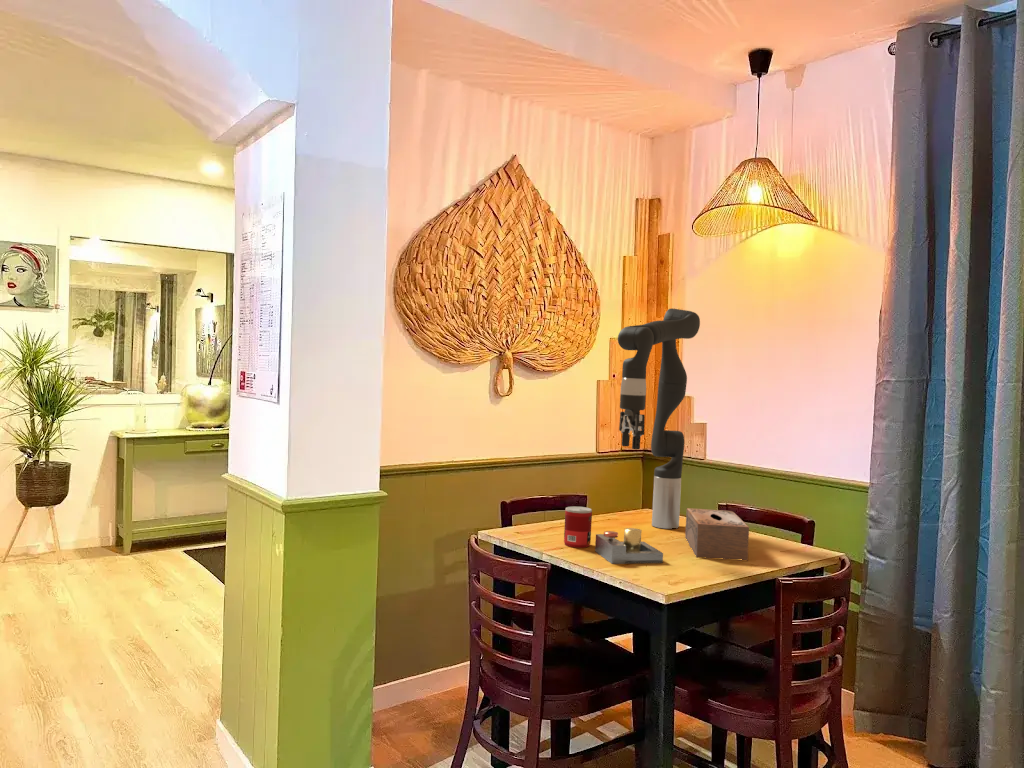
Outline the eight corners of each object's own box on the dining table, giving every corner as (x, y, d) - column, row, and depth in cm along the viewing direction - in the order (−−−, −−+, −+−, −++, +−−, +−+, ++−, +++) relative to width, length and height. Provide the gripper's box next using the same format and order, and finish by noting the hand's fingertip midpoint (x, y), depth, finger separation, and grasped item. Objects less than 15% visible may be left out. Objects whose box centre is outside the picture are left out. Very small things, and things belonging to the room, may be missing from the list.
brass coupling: (620, 552, 220) (622, 528, 220) (636, 552, 221) (637, 528, 221) (626, 556, 215) (628, 531, 215) (642, 556, 216) (644, 531, 216)
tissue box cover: (747, 561, 220) (749, 527, 220) (696, 558, 222) (698, 523, 221) (730, 541, 246) (732, 511, 246) (685, 539, 247) (686, 508, 247)
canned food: (593, 548, 227) (595, 511, 227) (567, 548, 226) (568, 510, 226) (586, 542, 235) (588, 506, 235) (561, 542, 233) (562, 506, 233)
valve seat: (595, 551, 223) (596, 527, 223) (643, 550, 226) (644, 527, 226) (611, 563, 209) (612, 538, 209) (662, 563, 213) (663, 538, 213)
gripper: (654, 395, 222) (651, 450, 223) (636, 393, 236) (633, 445, 237) (630, 394, 221) (627, 450, 221) (613, 392, 235) (610, 444, 235)
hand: (630, 447), depth 229 cm, fingers open, 8 cm apart
